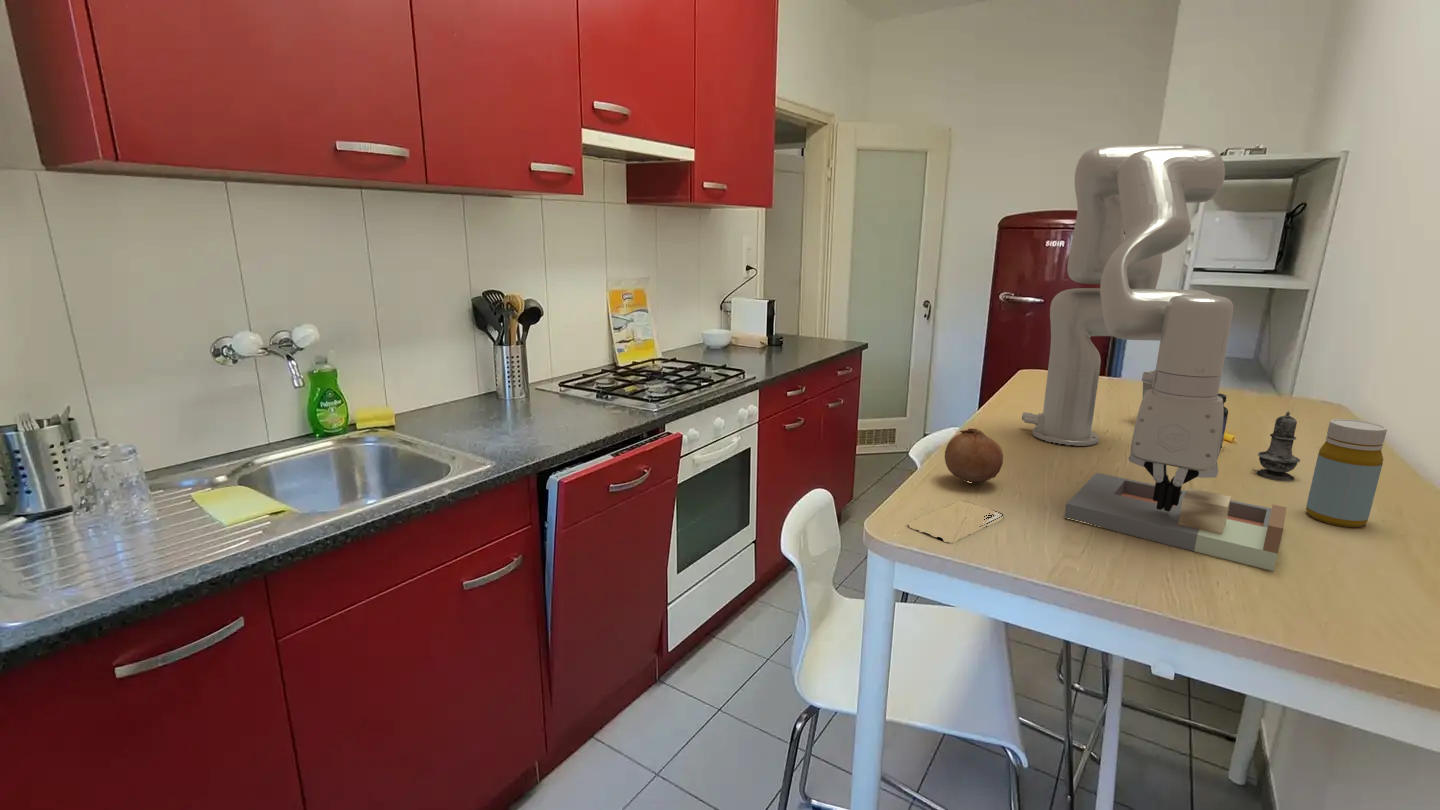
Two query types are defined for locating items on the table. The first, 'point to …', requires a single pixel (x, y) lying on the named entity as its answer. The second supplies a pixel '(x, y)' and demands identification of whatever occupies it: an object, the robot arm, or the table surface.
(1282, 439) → the salt shaker
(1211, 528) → the maple block
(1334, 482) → the bottle
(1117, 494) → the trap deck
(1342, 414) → the table surface
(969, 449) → the onion
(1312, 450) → the table surface
